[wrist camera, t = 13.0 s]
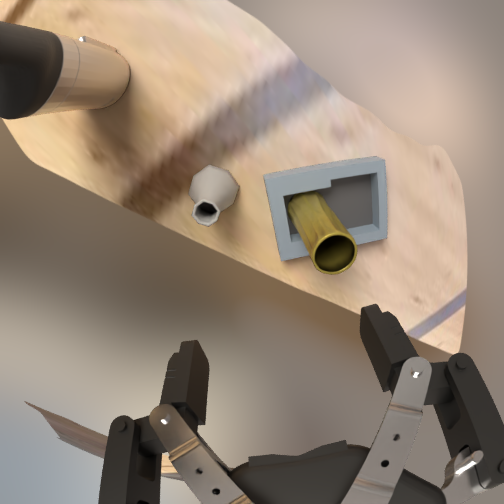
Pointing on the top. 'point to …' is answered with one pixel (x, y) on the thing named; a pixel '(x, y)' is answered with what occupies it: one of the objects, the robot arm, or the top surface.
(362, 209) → the keyhole board
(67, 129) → the top surface
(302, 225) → the vase
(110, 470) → the robot arm
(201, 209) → the flask
